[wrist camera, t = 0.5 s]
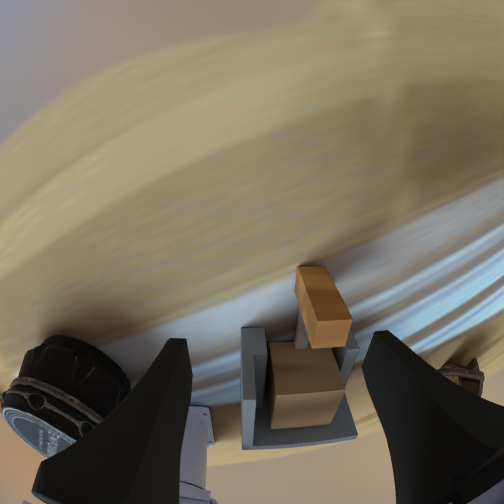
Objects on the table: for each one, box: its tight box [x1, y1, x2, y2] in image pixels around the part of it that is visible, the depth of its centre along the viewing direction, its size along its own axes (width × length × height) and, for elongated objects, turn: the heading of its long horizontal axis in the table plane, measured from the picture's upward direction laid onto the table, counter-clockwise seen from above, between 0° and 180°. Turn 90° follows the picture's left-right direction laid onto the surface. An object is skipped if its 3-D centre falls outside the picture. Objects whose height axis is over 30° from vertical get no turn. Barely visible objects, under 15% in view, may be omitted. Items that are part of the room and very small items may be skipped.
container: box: [0, 335, 131, 458], centre depth 20 cm, size 13×13×10 cm
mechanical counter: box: [437, 358, 484, 397], centre depth 24 cm, size 7×13×10 cm
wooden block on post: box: [266, 267, 353, 429], centre depth 20 cm, size 12×5×6 cm, turn 178°
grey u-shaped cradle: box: [241, 328, 359, 450], centre depth 21 cm, size 8×10×7 cm
